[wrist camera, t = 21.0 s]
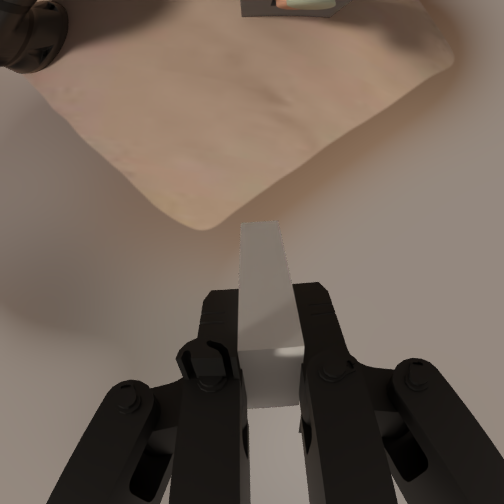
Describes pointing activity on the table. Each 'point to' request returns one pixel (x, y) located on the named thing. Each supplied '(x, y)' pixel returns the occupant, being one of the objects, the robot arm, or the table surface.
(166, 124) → the table surface
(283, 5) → the terracotta button
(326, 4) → the sage button
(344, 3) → the button panel
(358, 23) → the table surface
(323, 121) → the table surface
